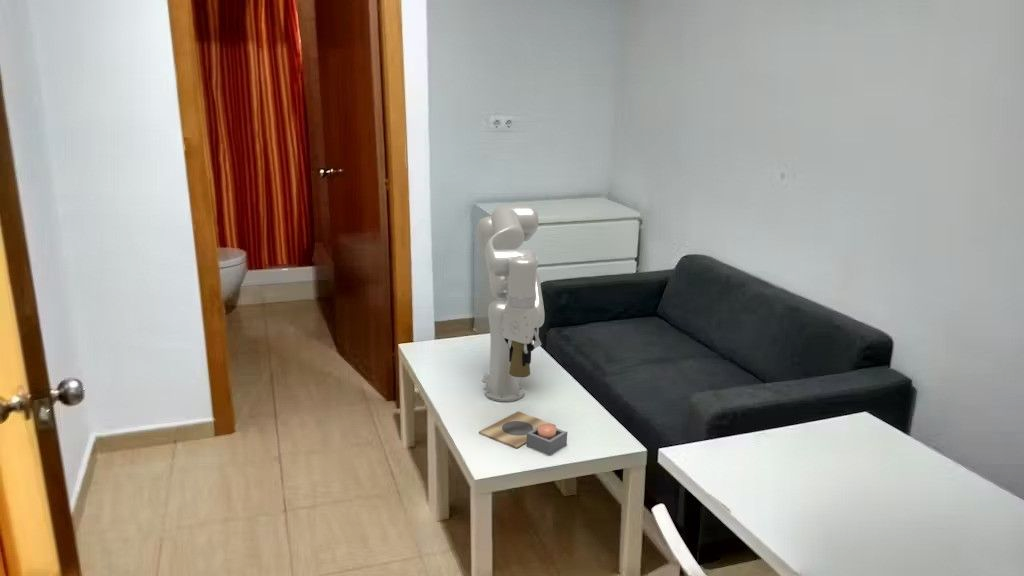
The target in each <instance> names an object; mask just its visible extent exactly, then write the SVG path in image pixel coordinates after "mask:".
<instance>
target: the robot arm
mask: <svg viewBox="0 0 1024 576" xmlns="http://www.w3.org/2000/svg"><path fill="white" fill-rule="evenodd" d="M538 227H539V214H538V212H537V211H536V209H535V208H534V207H533V206H532V205H501V206H497V207H496V208H495V209H494V210H493V211H492V213H491V215H489V216H486V217H482V218H480V220H479V222H478V224H477V236H478V242H479V245H480V248H481V251H482V253H483V255H484V257H485V262H486V267H487V271H488V281H489V289H490V290H489V291H490V293H491V295H492V296H493V297H494V298H496V299H495V300H493V301H492V302H491V303H490V304H489V305H488V308H487V309H488V310H487V315H488V322H489V331H490V333H489V334H490V353H489V355H490V358H489V359H490V362H489V363H490V364H489V365H490V366H489V374H488V373H486V374H484V375H483V378H482V379H481V382H482V383H484V384H486V385H487V387H485V390H484V396H486V397H487V398H488V399H490V400H493V401H496V402H503V403H505V402H507V403H509V402H515V401H518V400H520V399H522V398H523V397H524V396H525V390H524V388H523V387H522V386H520V385H521V384H520V383H521V377H514V376H511V375H510V374H509V371H510V365H511V359H512V352H513V347H512V344H511V341H515V342H518V343H522V344H524V353H522V366H525V365H526V363H528V364H529V365H530V364H531V363H532V352H533V351H534V350H535V349H536V348H538V347H541V346H542V344H543V343H542V342H541V340H540V337H539V332H540V331H539V330H540V329H539V328H541V327H543V325H544V323H545V316H546V315H545V308H544V305H545V304H544V299H543V293H542V285H541V280H540V276H539V274H538V272H537V269H538V267H539V257H538V255H536V252H535V251H534V250H531V249H527V248H526V249H519V248H520V247H521V246H522V245H523V243H524V242H529V240H531V239H532V237H533V236H534V235H535V234H536V232H537V230H538ZM528 344H529V347H528Z"/></svg>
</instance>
